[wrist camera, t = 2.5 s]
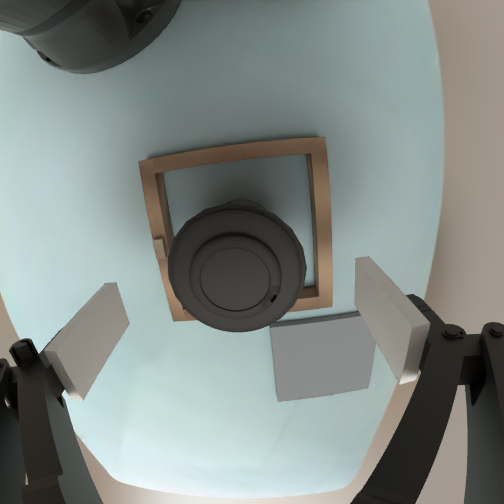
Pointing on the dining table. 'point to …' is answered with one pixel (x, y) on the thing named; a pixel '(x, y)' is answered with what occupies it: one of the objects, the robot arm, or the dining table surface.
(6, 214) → the dining table surface
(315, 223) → the wooden square frame
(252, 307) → the coffee cup
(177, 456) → the dining table surface
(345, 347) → the pad
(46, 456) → the robot arm
